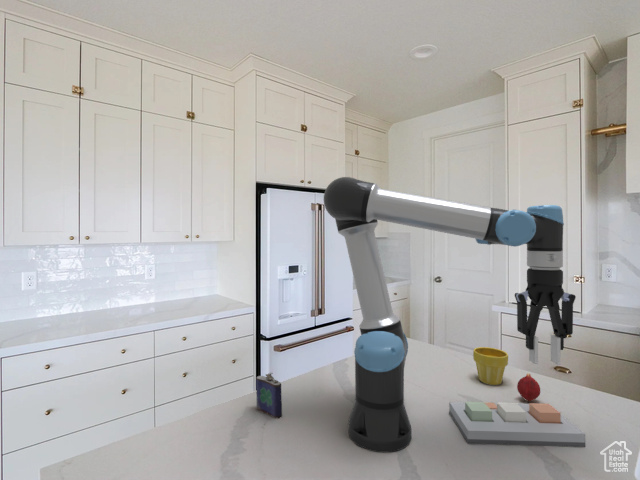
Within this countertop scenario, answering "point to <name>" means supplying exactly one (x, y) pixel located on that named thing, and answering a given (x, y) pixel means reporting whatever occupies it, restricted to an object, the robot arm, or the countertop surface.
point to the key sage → (478, 411)
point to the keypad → (515, 429)
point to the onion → (528, 388)
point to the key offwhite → (511, 412)
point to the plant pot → (490, 364)
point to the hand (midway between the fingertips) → (544, 362)
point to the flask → (269, 396)
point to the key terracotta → (544, 413)
